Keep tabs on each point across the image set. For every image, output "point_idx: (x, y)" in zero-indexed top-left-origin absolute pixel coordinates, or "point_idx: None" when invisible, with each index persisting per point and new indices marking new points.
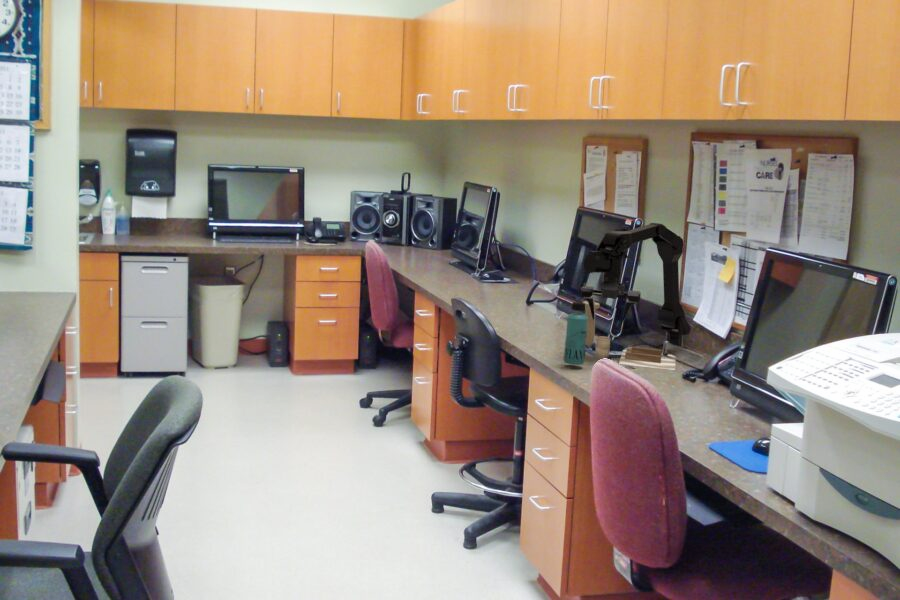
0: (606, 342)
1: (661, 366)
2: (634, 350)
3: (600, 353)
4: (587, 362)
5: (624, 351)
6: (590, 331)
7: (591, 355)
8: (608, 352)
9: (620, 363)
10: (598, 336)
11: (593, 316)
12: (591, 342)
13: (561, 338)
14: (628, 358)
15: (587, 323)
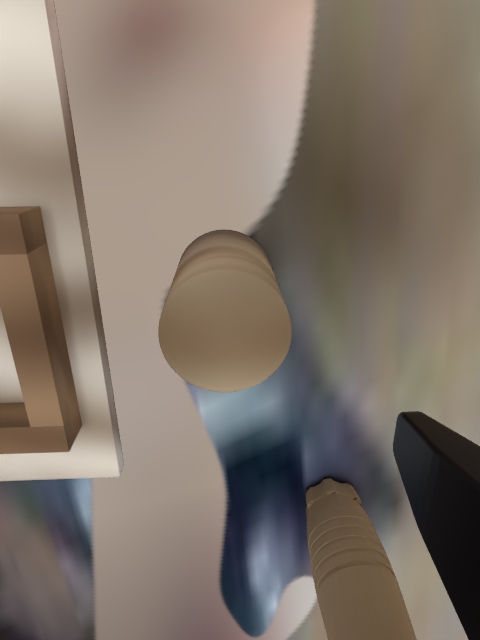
0: (188, 271)
1: None
2: (20, 416)
3: (233, 238)
4: (313, 45)
5: (103, 437)
6: (345, 563)
7: (296, 306)
8: (176, 271)
9: (30, 6)
10: (276, 367)
11: (434, 432)
12: (315, 508)
13: None
14: (10, 208)
15: (391, 620)
